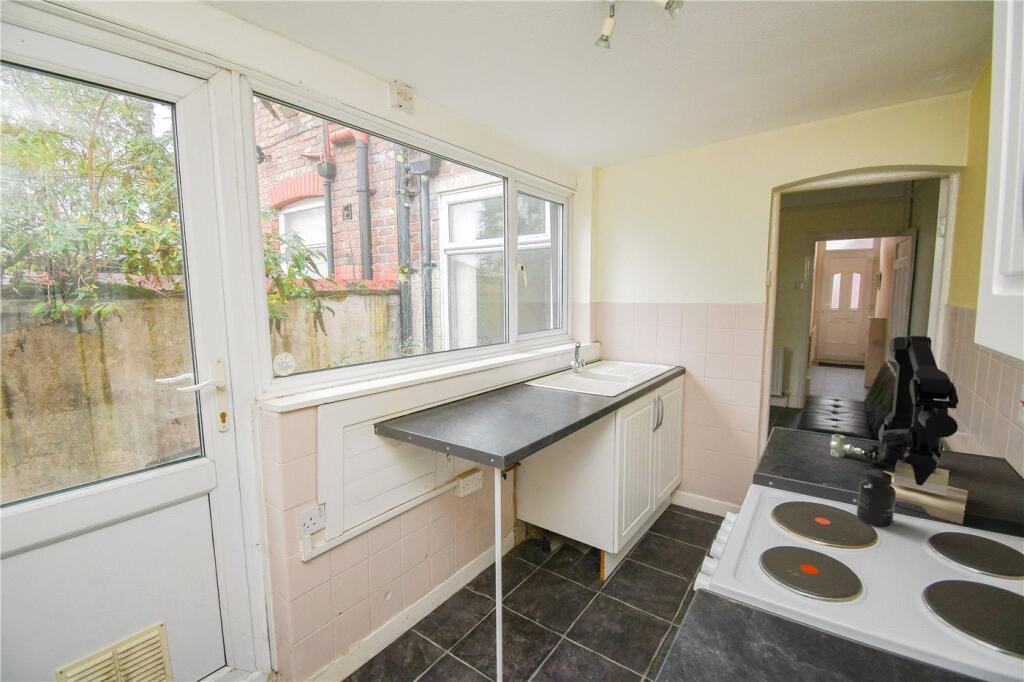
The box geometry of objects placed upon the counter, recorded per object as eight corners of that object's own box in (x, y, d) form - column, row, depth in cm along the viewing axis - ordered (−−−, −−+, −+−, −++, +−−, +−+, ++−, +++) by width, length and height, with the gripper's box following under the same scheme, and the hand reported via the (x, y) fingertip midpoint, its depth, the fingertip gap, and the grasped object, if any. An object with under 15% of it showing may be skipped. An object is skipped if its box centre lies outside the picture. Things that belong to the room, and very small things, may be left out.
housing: (946, 488, 114) (949, 470, 113) (946, 496, 110) (948, 477, 109) (895, 477, 121) (897, 459, 120) (893, 483, 117) (895, 465, 116)
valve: (825, 455, 145) (869, 468, 135) (826, 436, 144) (871, 447, 134) (834, 450, 148) (878, 462, 138) (835, 432, 147) (880, 442, 137)
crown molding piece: (882, 479, 127) (883, 470, 127) (966, 499, 115) (968, 490, 114) (871, 498, 117) (872, 490, 117) (962, 524, 104) (963, 514, 104)
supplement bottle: (895, 531, 102) (900, 482, 101) (858, 523, 106) (862, 476, 104) (889, 517, 108) (894, 471, 106) (854, 510, 112) (858, 465, 110)
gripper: (892, 409, 125) (887, 461, 127) (879, 426, 113) (874, 483, 115) (947, 418, 117) (940, 473, 119) (939, 437, 104) (932, 498, 107)
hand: (920, 481), depth 115 cm, fingers closed on housing, 5 cm apart
